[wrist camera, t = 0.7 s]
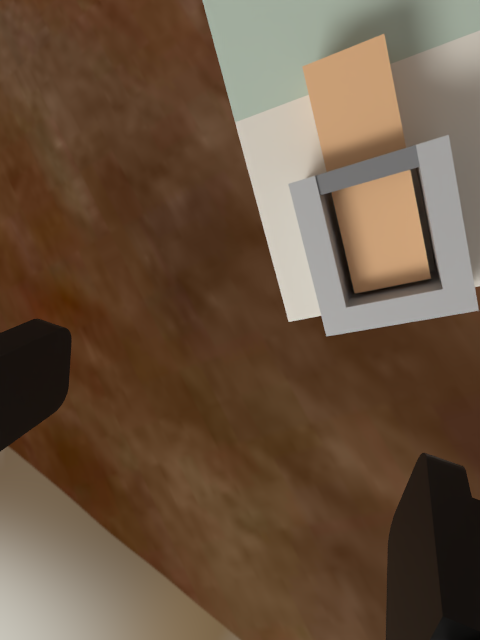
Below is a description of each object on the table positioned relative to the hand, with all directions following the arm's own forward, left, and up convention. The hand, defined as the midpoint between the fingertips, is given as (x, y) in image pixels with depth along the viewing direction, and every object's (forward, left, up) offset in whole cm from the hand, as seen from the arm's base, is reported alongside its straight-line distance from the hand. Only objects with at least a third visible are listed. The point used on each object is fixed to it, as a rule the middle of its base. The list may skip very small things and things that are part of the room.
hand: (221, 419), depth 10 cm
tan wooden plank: (-3, -4, -20) cm, 21 cm away
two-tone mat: (-3, -8, -21) cm, 23 cm away
